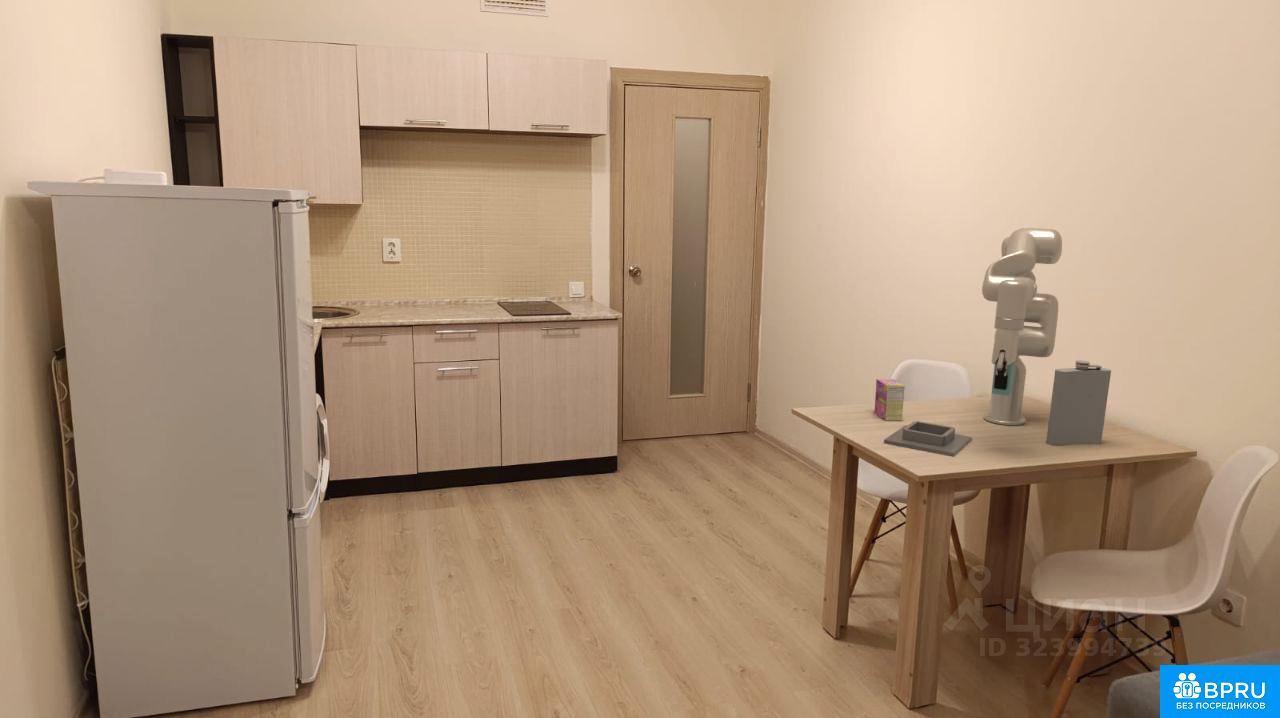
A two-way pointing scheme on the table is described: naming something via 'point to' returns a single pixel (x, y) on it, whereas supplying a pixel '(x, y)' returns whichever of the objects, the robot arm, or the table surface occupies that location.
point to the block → (1009, 382)
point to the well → (929, 438)
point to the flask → (1078, 405)
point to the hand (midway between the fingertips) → (1002, 386)
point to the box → (889, 399)
